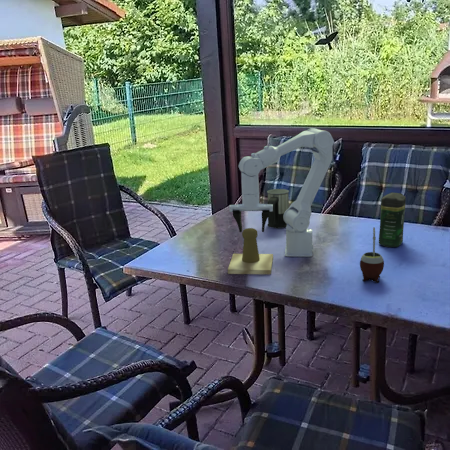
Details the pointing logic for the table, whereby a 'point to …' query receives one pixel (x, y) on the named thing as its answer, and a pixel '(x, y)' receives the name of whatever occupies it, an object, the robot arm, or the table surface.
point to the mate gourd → (372, 264)
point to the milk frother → (277, 207)
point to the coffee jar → (392, 220)
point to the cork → (250, 246)
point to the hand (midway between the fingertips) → (251, 231)
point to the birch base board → (251, 265)
